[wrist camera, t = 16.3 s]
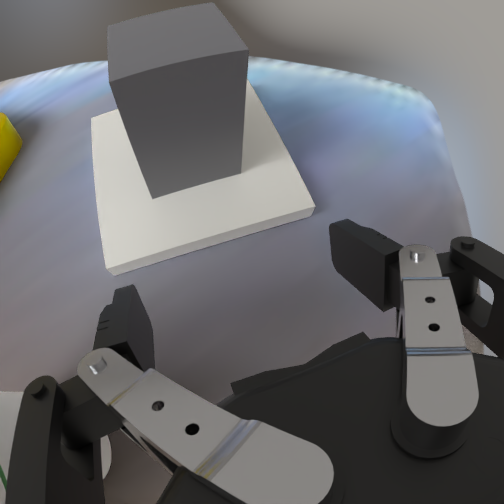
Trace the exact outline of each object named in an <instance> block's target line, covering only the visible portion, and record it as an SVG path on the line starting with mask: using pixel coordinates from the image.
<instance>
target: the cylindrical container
mask: <svg viewBox="0 0 504 504" xmlns="http://www.w3.org/2000/svg"><path fill="white" fill-rule="evenodd" d="M23 393H24V392H0V504H5V498H6V486H7V477H8V469H9V462H10V455H11V449H12V443H13V437H14V432H15V427H16V422H17V418H18V413H19V409H20V404H21V400H22V396H23ZM101 459H102V475H103V479H104V478H105V477H106V475H107V473H108V471H109V468H110V464H111V446H110V441H109V438H108V435H106V436H104V437H102V438H101Z"/></svg>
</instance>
